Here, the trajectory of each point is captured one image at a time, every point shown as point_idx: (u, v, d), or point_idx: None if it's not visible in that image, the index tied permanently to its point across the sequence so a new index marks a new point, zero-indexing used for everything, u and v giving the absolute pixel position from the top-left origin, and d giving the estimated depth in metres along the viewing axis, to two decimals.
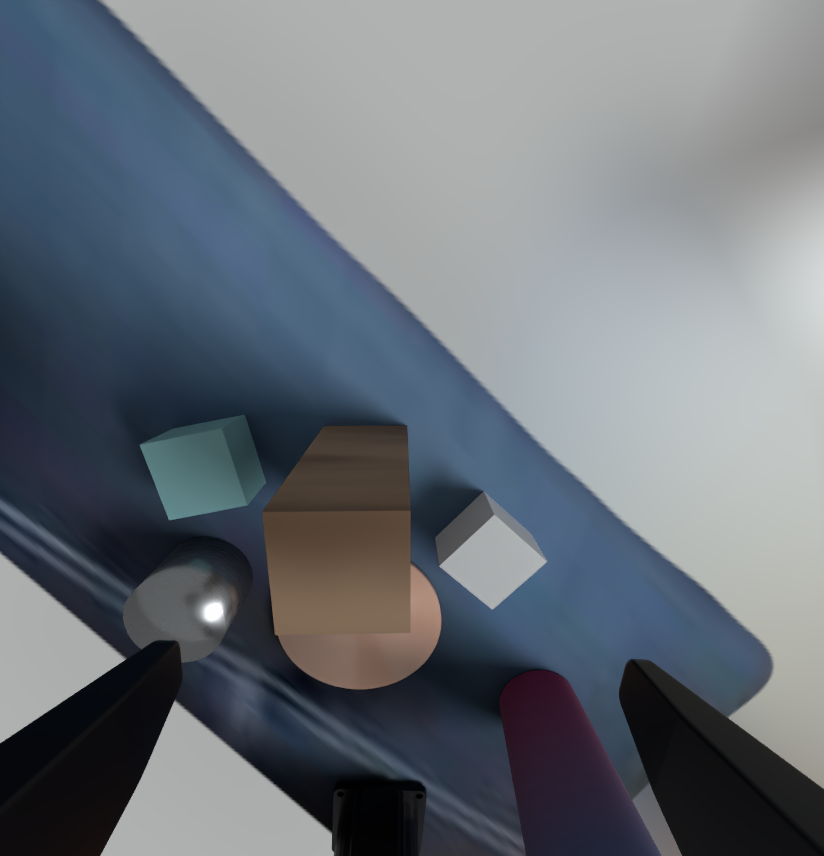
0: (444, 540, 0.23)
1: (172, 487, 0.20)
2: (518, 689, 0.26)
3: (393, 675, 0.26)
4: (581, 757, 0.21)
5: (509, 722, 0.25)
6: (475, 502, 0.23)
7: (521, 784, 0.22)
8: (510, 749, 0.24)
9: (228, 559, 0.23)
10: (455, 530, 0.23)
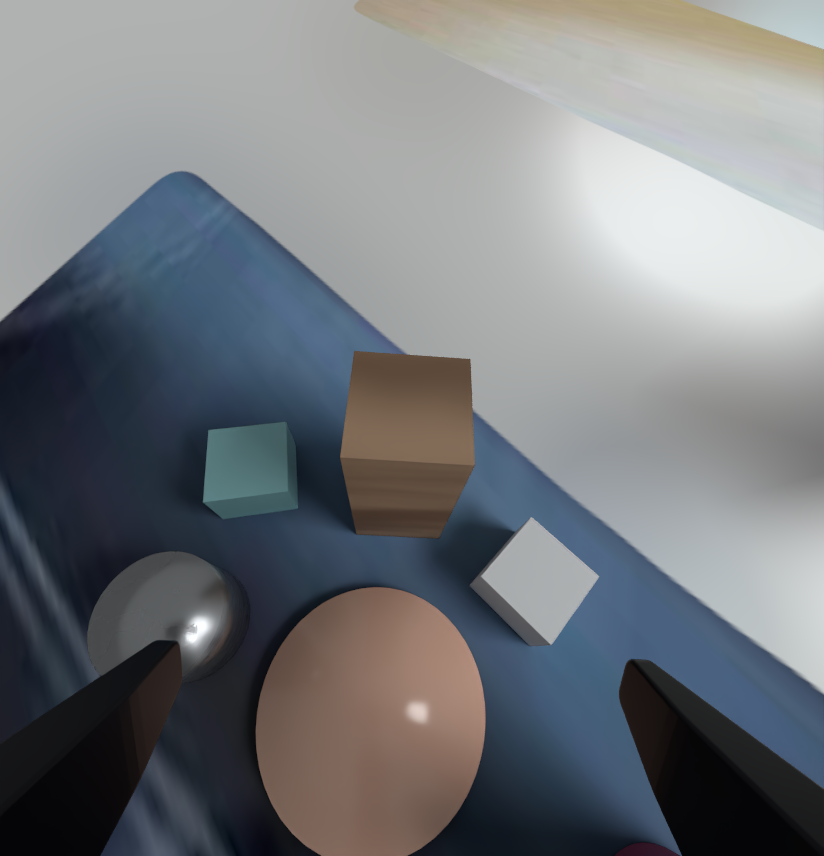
0: (481, 572, 0.21)
1: (221, 469, 0.21)
2: None
3: (416, 829, 0.16)
4: None
5: None
6: None
7: None
8: None
9: (234, 581, 0.20)
10: (492, 559, 0.21)
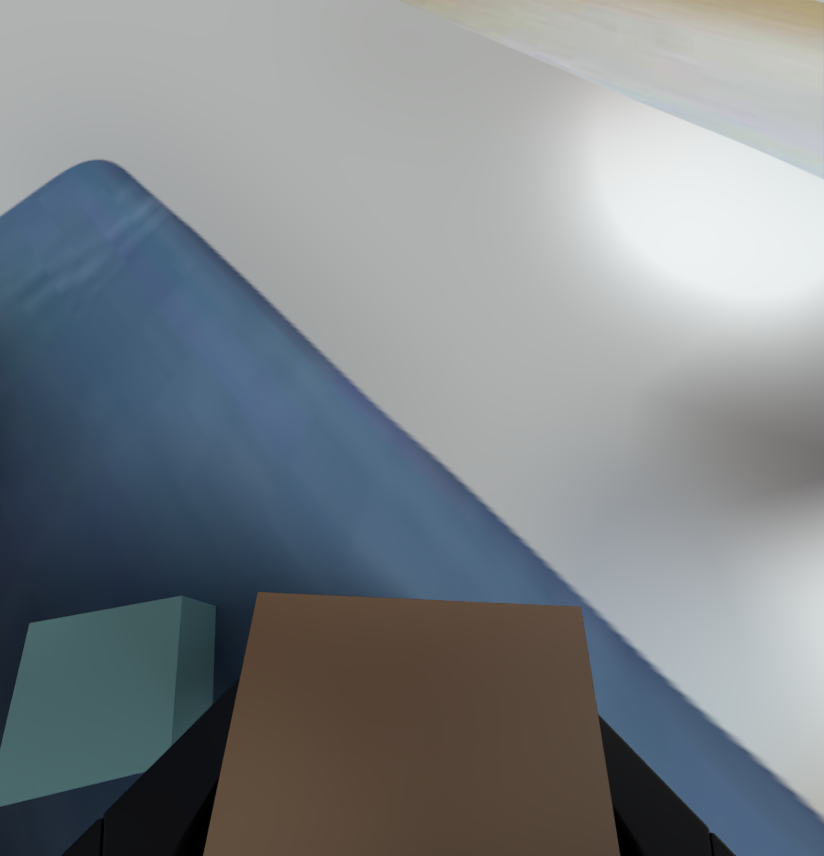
0: None
1: (38, 719, 0.10)
2: None
3: None
4: None
5: None
6: None
7: None
8: None
9: None
10: None
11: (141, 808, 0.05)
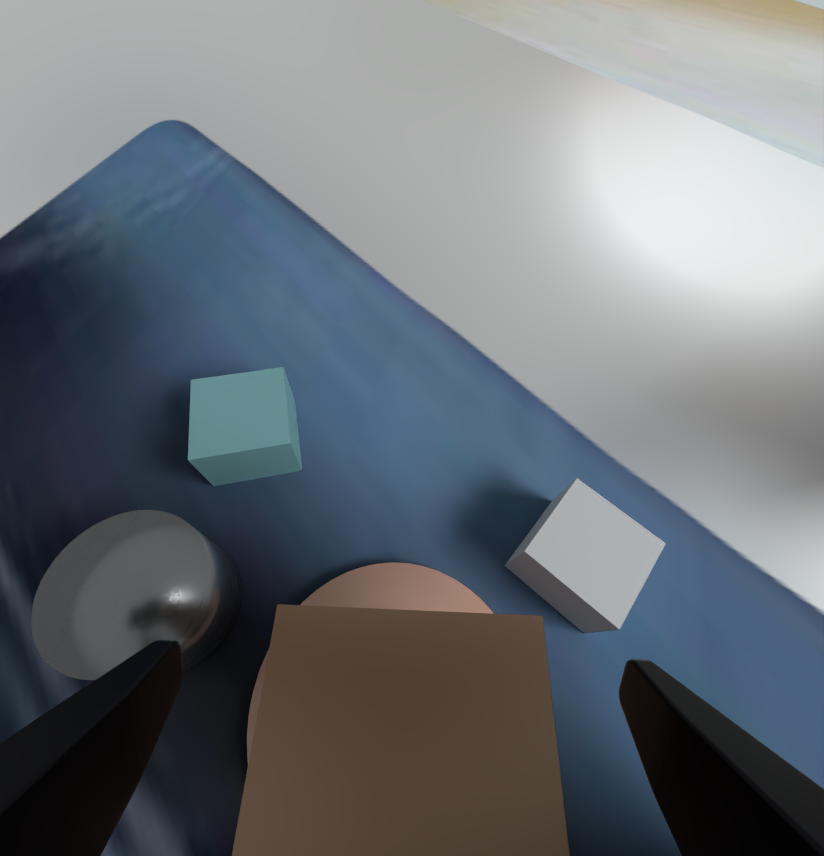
0: (520, 548, 0.17)
1: (208, 422, 0.17)
2: None
3: None
4: None
5: None
6: (546, 509, 0.19)
7: None
8: None
9: None
10: (531, 533, 0.17)
11: None
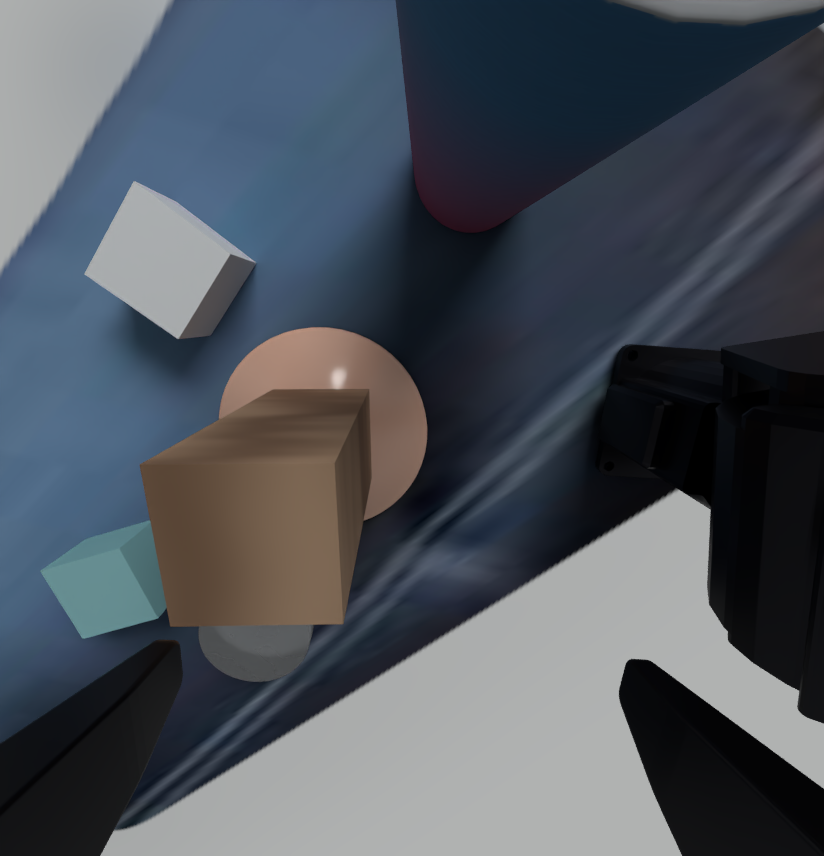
0: None
1: (120, 614, 0.20)
2: (427, 204, 0.17)
3: (405, 391, 0.19)
4: None
5: (453, 219, 0.16)
6: None
7: (469, 202, 0.13)
8: (471, 218, 0.15)
9: None
10: None
11: None
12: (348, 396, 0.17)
